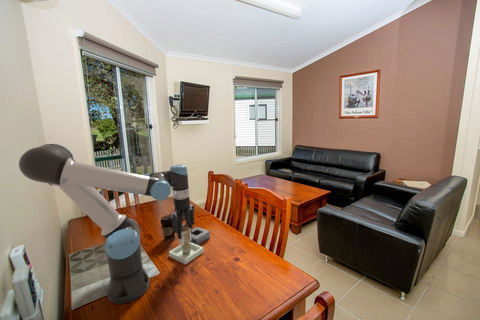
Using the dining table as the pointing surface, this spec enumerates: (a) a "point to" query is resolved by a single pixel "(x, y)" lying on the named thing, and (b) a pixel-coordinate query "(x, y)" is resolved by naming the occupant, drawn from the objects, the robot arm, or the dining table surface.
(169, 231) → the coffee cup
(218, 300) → the dining table surface
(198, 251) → the tray
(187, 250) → the pin
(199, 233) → the socket block
